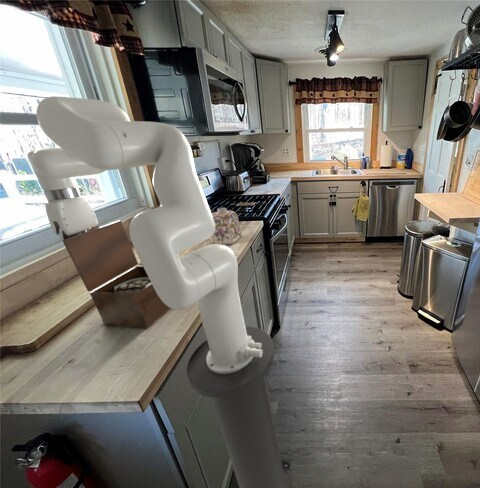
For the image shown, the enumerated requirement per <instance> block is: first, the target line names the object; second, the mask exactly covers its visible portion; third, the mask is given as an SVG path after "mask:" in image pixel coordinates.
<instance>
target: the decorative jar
mask: <svg viewBox="0 0 480 488" xmlns="http://www.w3.org/2000/svg"><path fill="white" fill-rule="evenodd" d="M216 210H217V211H214V212H211V213H212V216H213V219H214V222H215V232H214V234H213V235H212V236H211V239H212V244H222V245H233V244H235V243H236V242H237V241H238V240H239V239H240V238H242V231H241V226H240V221H239V215H238V214H237V213H236V212H235V211H233V210H231V209H227V208H226V207H221V208H218V209H216Z"/></svg>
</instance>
